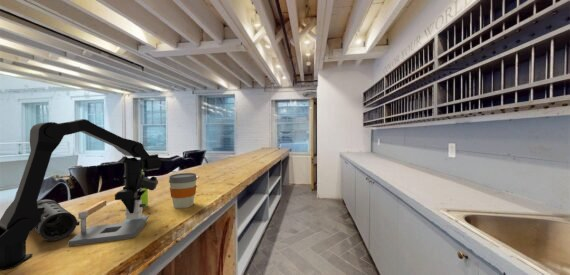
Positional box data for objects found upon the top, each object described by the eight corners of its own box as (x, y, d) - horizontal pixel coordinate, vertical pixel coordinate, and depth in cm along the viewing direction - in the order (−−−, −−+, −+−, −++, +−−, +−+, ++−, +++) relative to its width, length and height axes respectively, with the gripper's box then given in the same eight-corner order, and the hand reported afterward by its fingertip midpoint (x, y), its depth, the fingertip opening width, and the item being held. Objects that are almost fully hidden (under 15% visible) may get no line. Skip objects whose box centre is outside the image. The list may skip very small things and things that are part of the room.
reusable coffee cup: (197, 207, 105) (196, 176, 105) (167, 210, 101) (167, 178, 101) (197, 200, 117) (196, 172, 117) (170, 203, 112) (170, 174, 112)
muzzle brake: (78, 237, 77) (34, 244, 69) (58, 220, 93) (20, 224, 85) (84, 209, 79) (41, 213, 70) (63, 197, 94) (27, 199, 86)
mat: (142, 223, 86) (142, 222, 86) (118, 226, 84) (118, 225, 84) (148, 216, 94) (148, 215, 94) (127, 218, 92) (127, 217, 92)
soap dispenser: (130, 209, 103) (129, 167, 103) (136, 205, 110) (135, 165, 109) (144, 208, 105) (144, 166, 104) (149, 204, 111) (148, 164, 111)
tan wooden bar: (107, 205, 89) (107, 200, 89) (85, 218, 74) (85, 212, 74) (100, 205, 88) (100, 200, 88) (76, 219, 74) (76, 213, 74)
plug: (143, 218, 88) (143, 202, 88) (125, 220, 86) (125, 203, 86) (147, 214, 92) (147, 198, 92) (130, 215, 91) (129, 200, 91)
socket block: (134, 237, 74) (133, 218, 74) (68, 246, 69) (68, 225, 69) (145, 224, 86) (145, 207, 86) (90, 230, 81) (89, 212, 81)
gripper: (148, 175, 82) (149, 216, 82) (161, 168, 100) (162, 202, 100) (113, 177, 79) (114, 220, 79) (133, 169, 97) (134, 205, 97)
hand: (134, 211), depth 89 cm, fingers closed on plug, 4 cm apart
